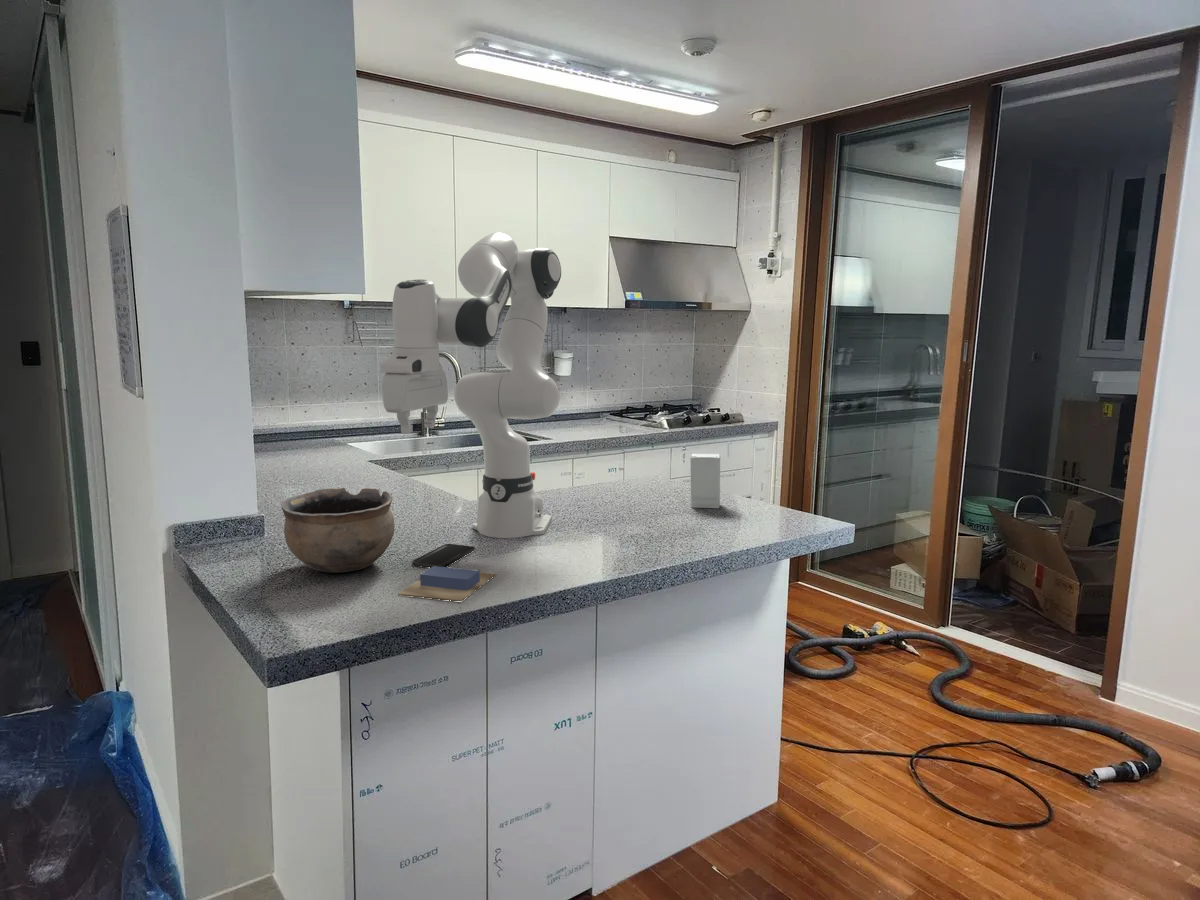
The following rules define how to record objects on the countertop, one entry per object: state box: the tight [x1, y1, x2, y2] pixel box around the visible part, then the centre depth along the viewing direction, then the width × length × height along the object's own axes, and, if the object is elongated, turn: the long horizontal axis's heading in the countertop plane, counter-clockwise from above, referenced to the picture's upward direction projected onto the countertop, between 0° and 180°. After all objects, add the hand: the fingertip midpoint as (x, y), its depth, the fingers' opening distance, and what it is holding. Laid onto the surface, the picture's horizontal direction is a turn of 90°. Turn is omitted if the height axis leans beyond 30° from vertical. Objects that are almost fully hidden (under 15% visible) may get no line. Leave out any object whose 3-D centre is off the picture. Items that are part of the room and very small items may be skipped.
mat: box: [397, 571, 497, 602], centre depth 150 cm, size 16×13×1 cm
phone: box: [411, 543, 476, 569], centre depth 168 cm, size 8×1×15 cm
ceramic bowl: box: [280, 487, 396, 573], centre depth 159 cm, size 22×22×15 cm
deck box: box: [419, 566, 481, 591], centre depth 150 cm, size 6×2×10 cm
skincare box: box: [690, 453, 721, 509], centre depth 216 cm, size 8×6×15 cm
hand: (418, 430), depth 156 cm, fingers open, 8 cm apart
